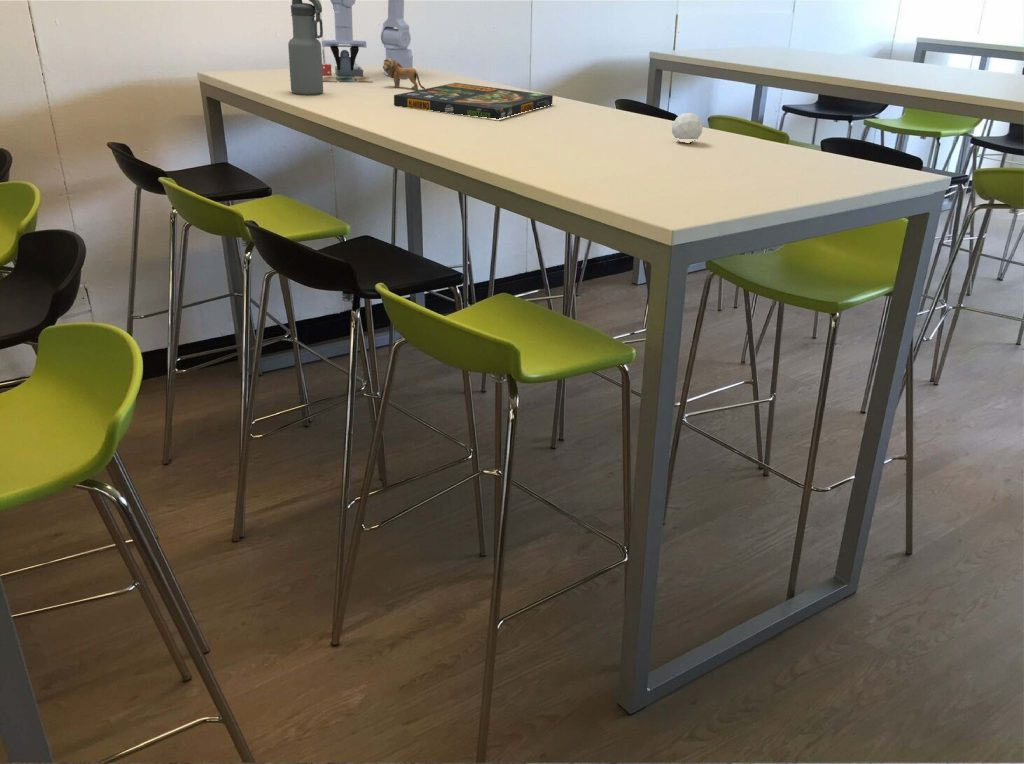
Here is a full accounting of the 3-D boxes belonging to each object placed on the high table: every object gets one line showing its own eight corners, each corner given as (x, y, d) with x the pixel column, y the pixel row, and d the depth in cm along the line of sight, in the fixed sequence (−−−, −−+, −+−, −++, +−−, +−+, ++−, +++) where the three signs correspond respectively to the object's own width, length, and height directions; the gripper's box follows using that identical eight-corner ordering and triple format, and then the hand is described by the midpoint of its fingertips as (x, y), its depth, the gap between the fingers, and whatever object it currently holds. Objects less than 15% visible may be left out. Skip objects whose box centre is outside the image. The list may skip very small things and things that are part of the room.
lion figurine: (380, 87, 291) (380, 58, 287) (387, 85, 296) (386, 56, 292) (422, 91, 288) (422, 62, 284) (428, 89, 292) (428, 60, 288)
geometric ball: (683, 155, 230) (675, 132, 224) (671, 138, 236) (664, 115, 230) (709, 141, 229) (703, 117, 223) (698, 124, 234) (691, 101, 228)
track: (368, 78, 308) (368, 76, 308) (372, 82, 300) (372, 81, 300) (318, 77, 304) (318, 76, 304) (321, 81, 295) (321, 80, 295)
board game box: (394, 107, 261) (393, 95, 259) (455, 94, 289) (455, 82, 288) (498, 122, 247) (498, 109, 246) (552, 107, 275) (552, 95, 274)
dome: (357, 71, 316) (356, 59, 314) (359, 73, 310) (359, 62, 308) (339, 70, 314) (338, 59, 312) (340, 73, 308) (340, 61, 307)
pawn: (350, 74, 304) (350, 49, 300) (352, 76, 300) (351, 50, 296) (339, 74, 302) (338, 49, 299) (340, 76, 299) (339, 50, 295)
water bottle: (328, 91, 278) (324, -6, 266) (319, 96, 269) (314, -4, 257) (296, 89, 279) (291, -8, 266) (286, 94, 270) (280, -6, 258)
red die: (330, 74, 313) (330, 63, 311) (331, 75, 310) (331, 64, 308) (320, 73, 312) (320, 63, 310) (321, 75, 309) (320, 64, 307)
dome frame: (360, 73, 317) (360, 66, 316) (363, 77, 310) (363, 69, 309) (335, 73, 315) (335, 66, 314) (337, 76, 308) (337, 69, 307)
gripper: (322, 27, 289) (324, 71, 295) (367, 28, 293) (368, 71, 299) (320, 25, 295) (322, 68, 301) (364, 26, 299) (365, 68, 305)
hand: (345, 69), depth 300 cm, fingers closed on pawn, 4 cm apart
